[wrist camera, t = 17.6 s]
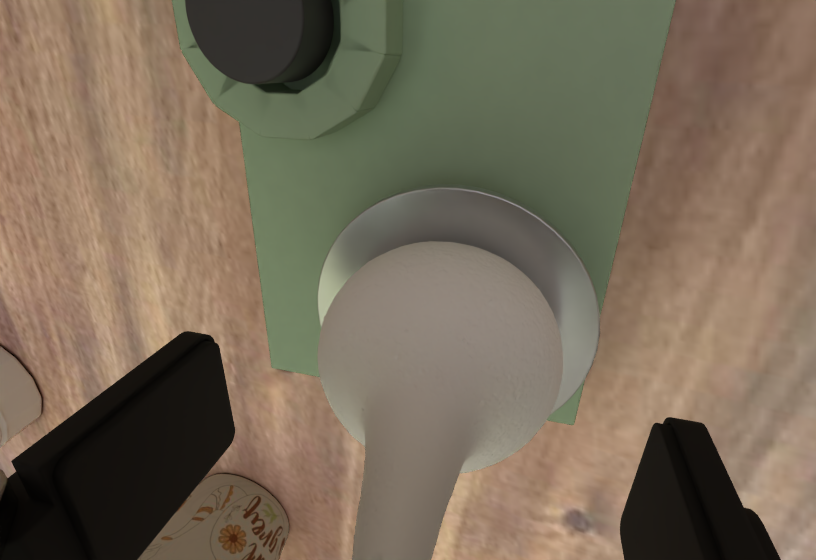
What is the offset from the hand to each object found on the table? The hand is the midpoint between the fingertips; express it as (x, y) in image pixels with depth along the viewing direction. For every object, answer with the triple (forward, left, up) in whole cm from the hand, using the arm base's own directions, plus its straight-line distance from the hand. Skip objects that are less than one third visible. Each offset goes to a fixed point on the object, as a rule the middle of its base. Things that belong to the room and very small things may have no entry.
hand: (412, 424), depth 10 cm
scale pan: (0, 0, -5) cm, 5 cm away
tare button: (-8, -5, -5) cm, 11 cm away
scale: (-3, -1, -8) cm, 9 cm away
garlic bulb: (0, 0, -4) cm, 4 cm away
